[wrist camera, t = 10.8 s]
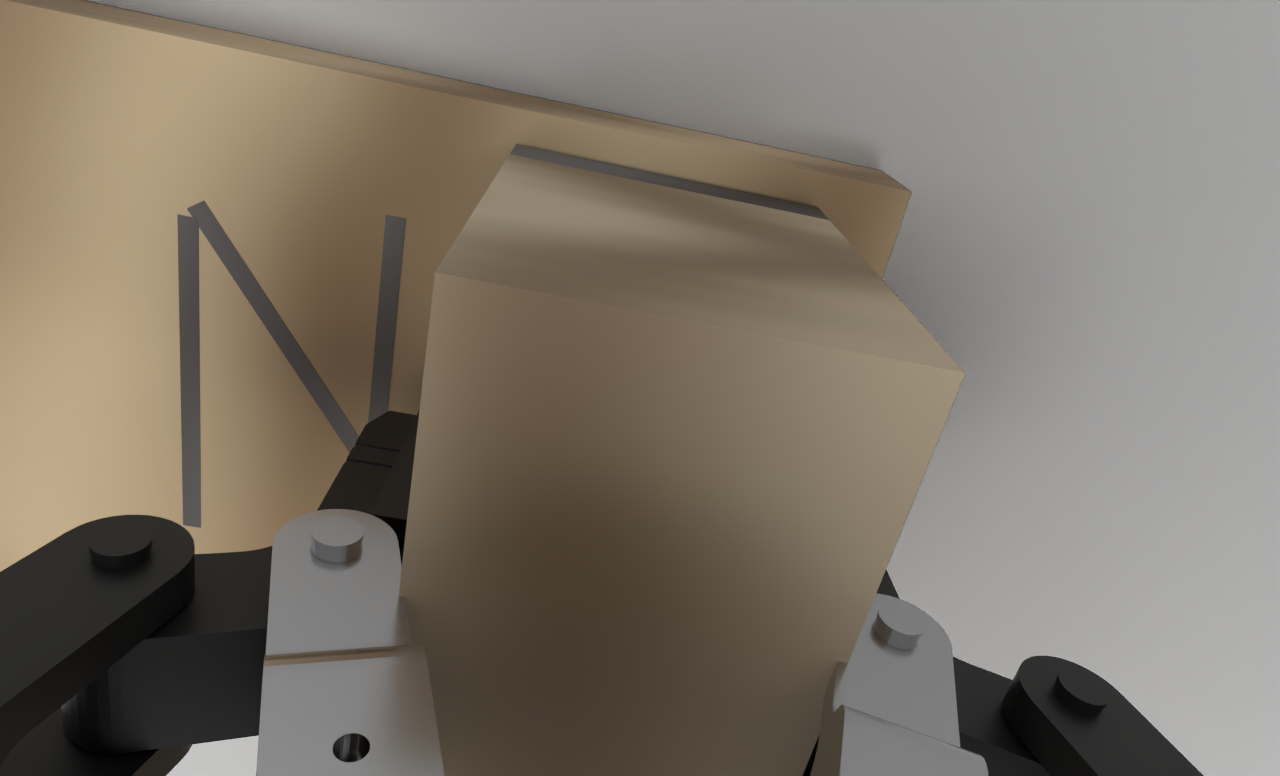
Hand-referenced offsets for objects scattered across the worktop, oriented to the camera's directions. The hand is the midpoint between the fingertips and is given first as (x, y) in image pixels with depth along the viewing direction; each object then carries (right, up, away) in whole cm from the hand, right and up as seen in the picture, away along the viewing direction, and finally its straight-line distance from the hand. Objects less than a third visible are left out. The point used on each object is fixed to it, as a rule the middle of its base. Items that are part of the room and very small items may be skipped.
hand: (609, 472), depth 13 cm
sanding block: (0, 0, +1) cm, 1 cm away
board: (-4, +2, +2) cm, 5 cm away
